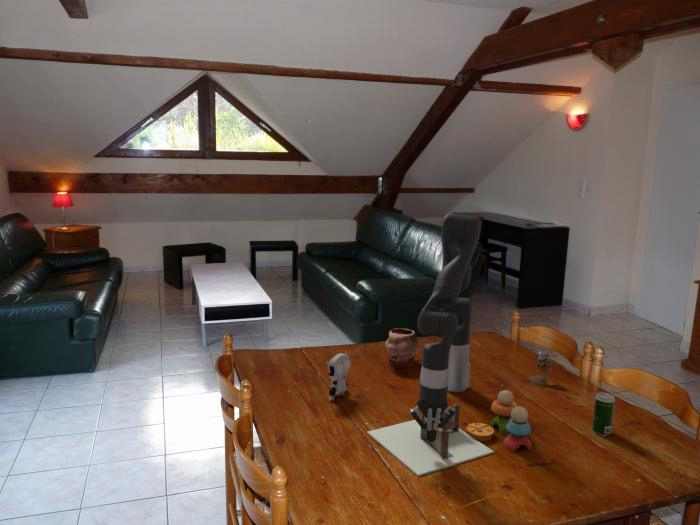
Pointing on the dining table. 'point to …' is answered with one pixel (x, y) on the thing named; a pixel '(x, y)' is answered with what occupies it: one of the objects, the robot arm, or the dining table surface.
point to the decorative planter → (401, 348)
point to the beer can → (603, 413)
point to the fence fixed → (451, 424)
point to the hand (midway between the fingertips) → (430, 441)
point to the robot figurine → (541, 369)
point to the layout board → (426, 447)
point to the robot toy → (338, 374)
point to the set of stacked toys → (505, 423)
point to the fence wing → (441, 442)
